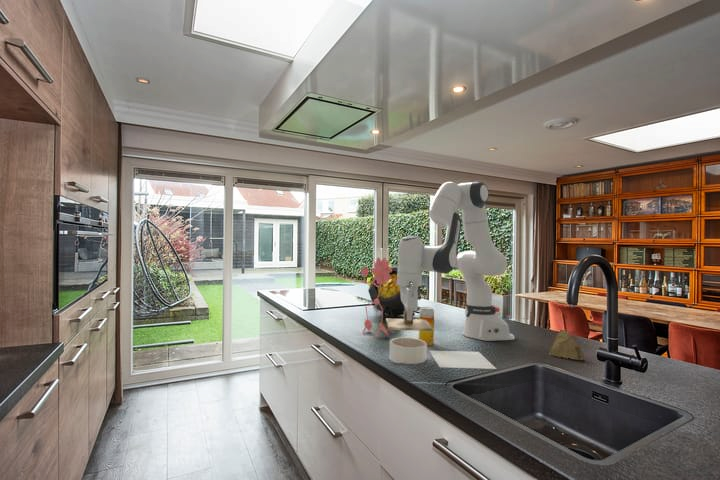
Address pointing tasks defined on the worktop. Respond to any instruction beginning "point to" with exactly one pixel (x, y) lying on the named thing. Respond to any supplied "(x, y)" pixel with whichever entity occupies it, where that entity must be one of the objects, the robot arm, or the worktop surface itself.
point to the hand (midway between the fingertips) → (408, 318)
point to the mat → (461, 359)
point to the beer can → (428, 315)
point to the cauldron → (389, 296)
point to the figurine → (381, 276)
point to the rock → (566, 347)
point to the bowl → (408, 350)
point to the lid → (408, 324)
